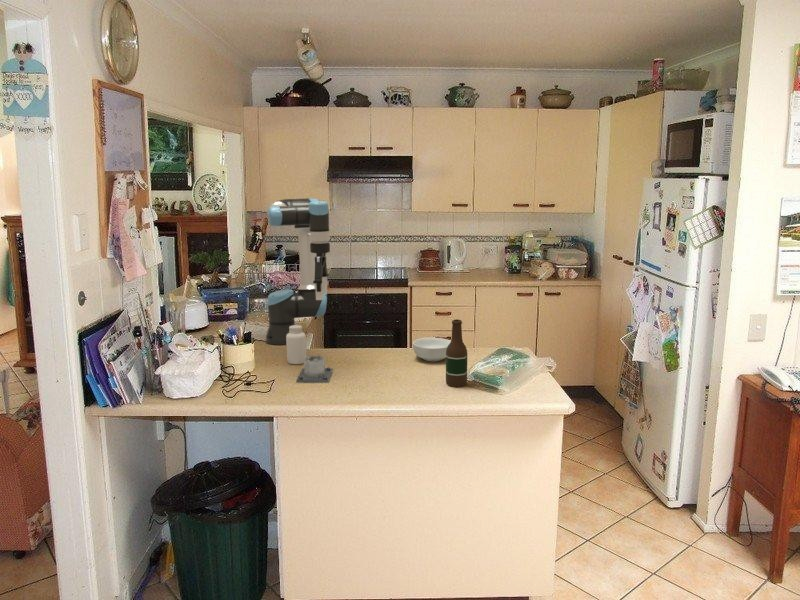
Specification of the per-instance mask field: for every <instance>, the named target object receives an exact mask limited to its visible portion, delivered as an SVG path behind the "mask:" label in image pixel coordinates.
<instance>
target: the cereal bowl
mask: <svg viewBox="0 0 800 600" xmlns="http://www.w3.org/2000/svg"><path fill="white" fill-rule="evenodd" d="M450 342H451V339H447V338H441V337H420V338H417V339H415V340H414V341H412V350H413V352H414V354H415V355H416V356H417V357H419V358H421V359H423V360H425V361H426V362H439V361H441V360H443V359H446V350H447V347H448V345H449V344H450Z"/></svg>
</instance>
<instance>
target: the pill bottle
mask: <svg viewBox="0 0 800 600" xmlns="http://www.w3.org/2000/svg"><path fill="white" fill-rule="evenodd" d="M289 330H290V331H289V332H290V333H288V334H287V335H286V361H287V363H288V364H290V365H301V364H304V359H305V358H306V357H308V355H307V335H306V333H305V332H304V331H303V326H302V325H299V324H295V325H293V326H290V327H289Z"/></svg>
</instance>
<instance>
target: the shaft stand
mask: <svg viewBox="0 0 800 600" xmlns="http://www.w3.org/2000/svg"><path fill="white" fill-rule="evenodd" d="M333 368H334V367H329V366H328V367H325V375H323V376H320V377H308V376H305V372H304V367H303V368H301V370H300V373H299V374H298V376H297V378H296V383H297V382H304V383H306V384H307V383H308V382H309V383H313V384H314V383H330V380H331V378H332V375H331V374H333V372H332V371H334V369H333ZM330 377H331V378H330Z"/></svg>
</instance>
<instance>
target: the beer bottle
mask: <svg viewBox="0 0 800 600" xmlns="http://www.w3.org/2000/svg"><path fill="white" fill-rule="evenodd" d="M451 324H452V325H451V327H452V328H451V339H450V341H451V342H450V344H449V345H448V347H447V350H446V358H445V384H446V385H447V386H449V387H453V388H462V387H463V388H464V387H465V386H466V385H467V384H468V350H467V346H466V345H465V343H464V342H463V330H462V329H463V328H462V324H463V321H462V320H461V319H459V318H458V319H454V320H453V319H452V320H451Z"/></svg>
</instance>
